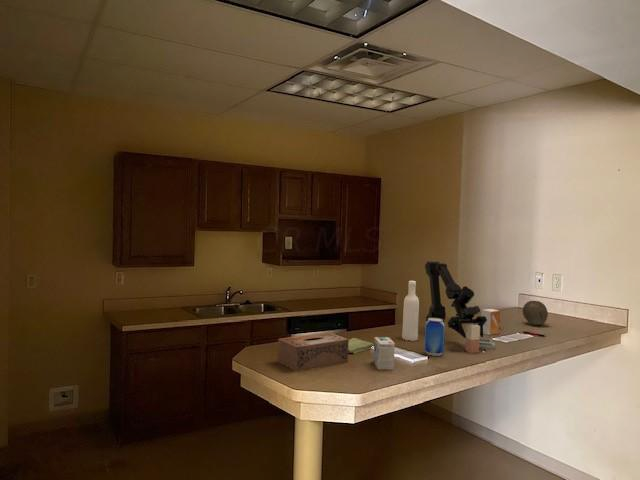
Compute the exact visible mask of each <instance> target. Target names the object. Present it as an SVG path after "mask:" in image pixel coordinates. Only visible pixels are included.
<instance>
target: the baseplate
mask: <svg viewBox="0 0 640 480" xmlns="http://www.w3.org/2000/svg"><path fill="white" fill-rule="evenodd" d="M480 348H481V349H489V350H495V348H496V341H495V340H493V339H490V338H483V337H481V338H480V339H479V349H480Z"/></svg>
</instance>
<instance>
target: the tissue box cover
mask: <svg viewBox="0 0 640 480" xmlns="http://www.w3.org/2000/svg"><path fill="white" fill-rule="evenodd" d="M349 340H350V339H349V338H346V337H344V336H340V335H338V334H335V333H332V332H330V331H325V332H319V333H313V334H303V335H296V336H289V337H280V338H278V340H277V344H278V347H277V363H279V364H281V365H283V366H284V365H285V367H286V366H287V368H288V367H289V368H288V369H290V368H291V369H290V370H292V371H293V370H294V371H293V372H295V371H297V372H301V371H300V370H303V371H307V370H306V369H308V370H312V368H314V369H318V367H319V368H324V367H328V366H329V367H330V366H334V365H340V364H345V363H349V353H348V343H349Z"/></svg>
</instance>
